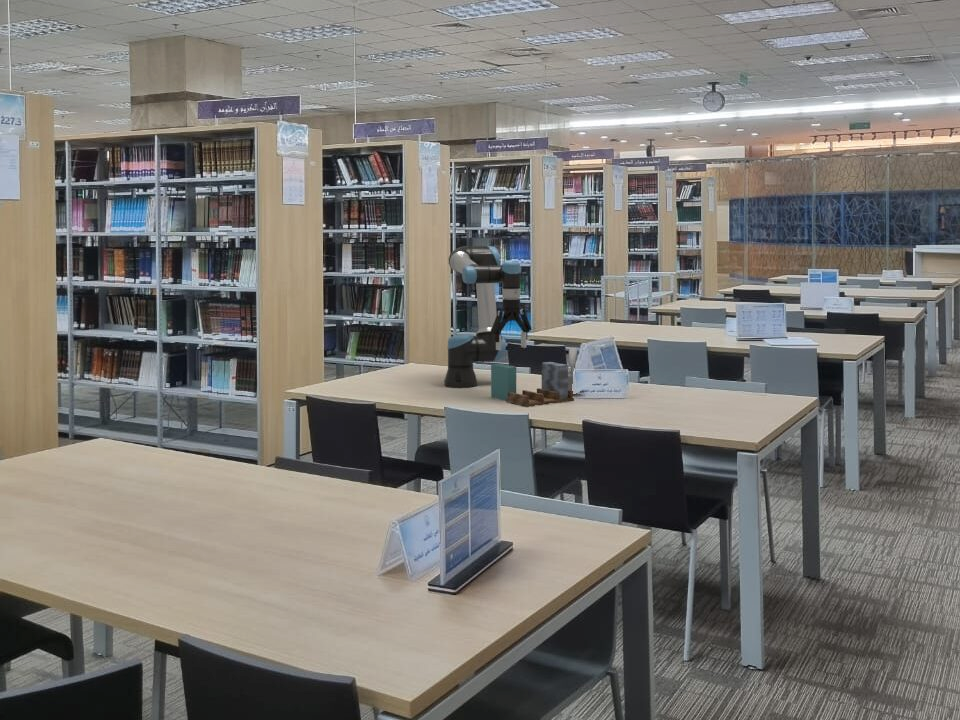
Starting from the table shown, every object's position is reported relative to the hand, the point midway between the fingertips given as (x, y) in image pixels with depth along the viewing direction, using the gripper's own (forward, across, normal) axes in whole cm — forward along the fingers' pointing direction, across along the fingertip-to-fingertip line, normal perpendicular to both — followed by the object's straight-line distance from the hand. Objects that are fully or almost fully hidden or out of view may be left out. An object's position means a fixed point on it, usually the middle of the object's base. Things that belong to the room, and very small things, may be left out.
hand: (511, 348), depth 416 cm
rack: (+21, +4, -14) cm, 26 cm away
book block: (+21, -3, +1) cm, 22 cm away
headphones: (+21, +29, -8) cm, 37 cm away
